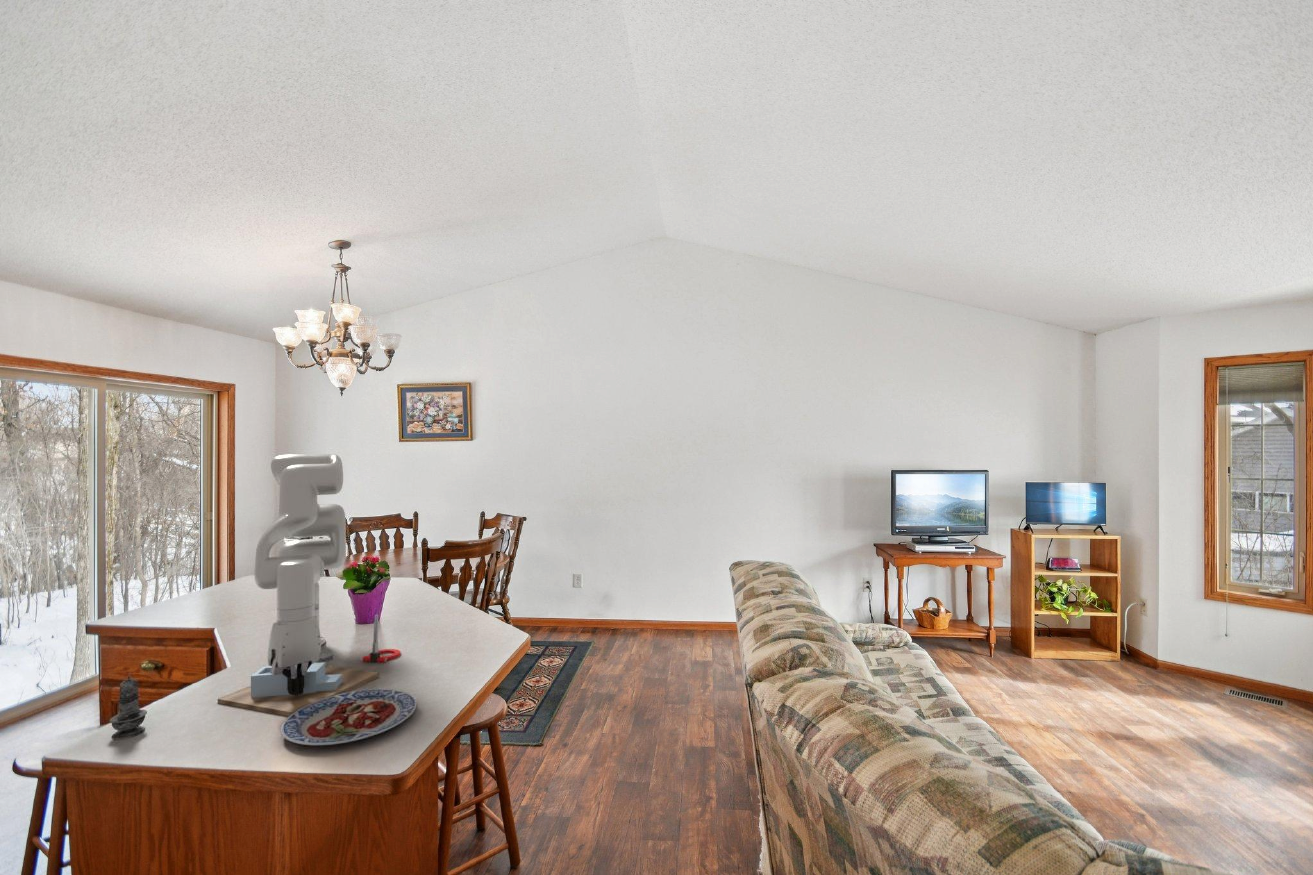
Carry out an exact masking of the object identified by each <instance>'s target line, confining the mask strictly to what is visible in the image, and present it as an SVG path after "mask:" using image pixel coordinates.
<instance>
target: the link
mask: <svg viewBox="0 0 1313 875" xmlns="http://www.w3.org/2000/svg"><path fill="white" fill-rule="evenodd" d="M325 665H326V663H325V662H322V663H317V662H315V663H313V664H311V666H310V667H309V669H308V670H307V674H306V675H304V688H303V693H315V692H318V691H330V690H336V689H337V687H338V686H339V685H340V684H341V683H342V674H334V675H325ZM295 666H296V665H295ZM271 668H272V666H269V665H267V666H262V667H260V668H259V669H258V670H257V671H255V672H254V673H253V674H252V675H251V676H250V686H251V698H253V697H266V696H278V695H291V694H289V693H288V690H287V677H285V676H284V675H283V674H280V675H273V674H271V673H267V672H271ZM264 673H267V674H264ZM303 693H302V694H303Z"/></svg>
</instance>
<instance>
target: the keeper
mask: <svg viewBox="0 0 1313 875" xmlns="http://www.w3.org/2000/svg"><path fill="white" fill-rule="evenodd" d="M319 658H320V659H319V660H318V661H317V662H316V663H322V662H325V664H326V663H328V662H330V661H333V660H334V654H330V653H324V652H323V653H322V652H320V655H319Z"/></svg>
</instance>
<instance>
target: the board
mask: <svg viewBox="0 0 1313 875" xmlns="http://www.w3.org/2000/svg"><path fill="white" fill-rule="evenodd" d="M334 674H342V683H341V684H340V685H339V686H338V687H337V689H336V690H330V691H318V692H315V693H303V694H299V695H297V696H295V695H278V696H266V697H253V698H251V685H249V686H246V687H244V688H242V689H241V688H240V689H239V690H237V691H234V692H232V693H229V694H226V695H224V696H221V697H219V698H217V704H220V705H226V706H230V707H236V708H242V709H246V710H247V709H248V710H253V711H257V712H258V711H259V712H263V713H269V714H275V715H278V716H285V717H289V716H290V715H292V714H293V713H295V712H296V711H298V710H299V709H301V708H303V707H305V706H307V705H309V704H312V703H314V702H317V701H319V700H322V699H325V698H328V697H331V696H335V695H339V694H343V693H348V692H352V691H353V690H355V689H357V688H359V687H361V686H363V685H365V684H367V683H369V682H371V681H374V680H375V679H377V678H379V676H380V674H379V672H375V671H370V670H369V671H367V670H361V669H353V668H348V667H340V666H334V665H327V664H325V675H334Z"/></svg>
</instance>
